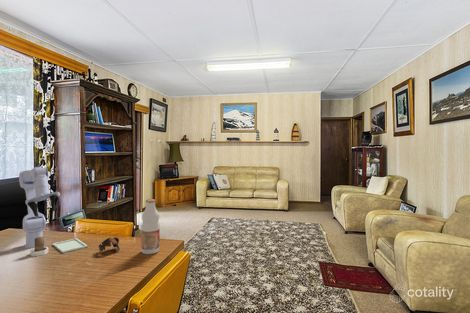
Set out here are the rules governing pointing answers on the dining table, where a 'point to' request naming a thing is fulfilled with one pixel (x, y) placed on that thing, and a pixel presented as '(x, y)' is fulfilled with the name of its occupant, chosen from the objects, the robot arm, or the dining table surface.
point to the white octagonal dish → (39, 252)
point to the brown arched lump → (109, 244)
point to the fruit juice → (150, 229)
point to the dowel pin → (39, 244)
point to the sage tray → (69, 245)
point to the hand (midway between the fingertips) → (45, 213)
